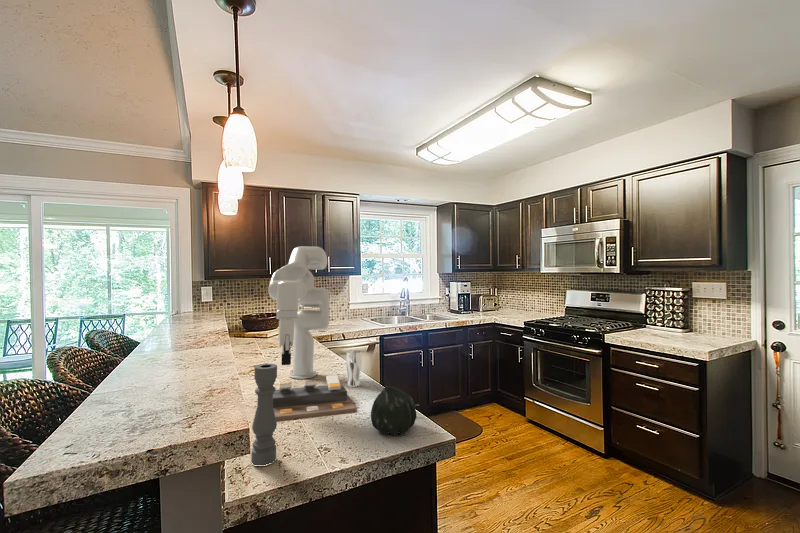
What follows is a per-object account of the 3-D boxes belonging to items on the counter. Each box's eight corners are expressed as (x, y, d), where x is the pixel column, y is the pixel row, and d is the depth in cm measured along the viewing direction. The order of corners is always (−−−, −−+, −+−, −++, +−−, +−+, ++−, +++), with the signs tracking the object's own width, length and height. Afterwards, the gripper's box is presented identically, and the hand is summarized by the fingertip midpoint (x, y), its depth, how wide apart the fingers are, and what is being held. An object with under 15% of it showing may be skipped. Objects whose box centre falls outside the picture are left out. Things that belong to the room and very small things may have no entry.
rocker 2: (303, 387, 144) (302, 383, 144) (314, 386, 145) (314, 382, 146) (304, 385, 137) (304, 381, 138) (316, 384, 139) (316, 380, 139)
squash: (427, 407, 123) (398, 372, 125) (420, 427, 109) (388, 387, 111) (396, 432, 126) (368, 397, 128) (385, 454, 111) (354, 414, 113)
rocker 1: (278, 389, 141) (278, 385, 142) (290, 388, 142) (290, 384, 143) (279, 388, 134) (279, 383, 134) (292, 387, 135) (292, 382, 136)
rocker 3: (326, 378, 148) (326, 375, 147) (337, 377, 149) (337, 374, 149) (328, 390, 140) (329, 387, 140) (340, 389, 142) (340, 386, 141)
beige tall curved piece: (362, 383, 168) (363, 350, 168) (359, 387, 161) (360, 353, 161) (347, 382, 168) (348, 349, 168) (344, 387, 161) (344, 352, 162)
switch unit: (268, 399, 144) (268, 384, 144) (344, 392, 154) (344, 378, 154) (267, 421, 123) (268, 403, 123) (355, 411, 133) (356, 395, 133)
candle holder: (261, 469, 93) (263, 370, 94) (246, 462, 96) (248, 366, 97) (281, 459, 98) (283, 365, 99) (265, 453, 102) (268, 362, 102)
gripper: (276, 312, 142) (275, 360, 141) (276, 317, 128) (275, 370, 127) (296, 312, 144) (295, 359, 144) (299, 316, 130) (298, 368, 130)
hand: (286, 364), depth 136 cm, fingers closed
